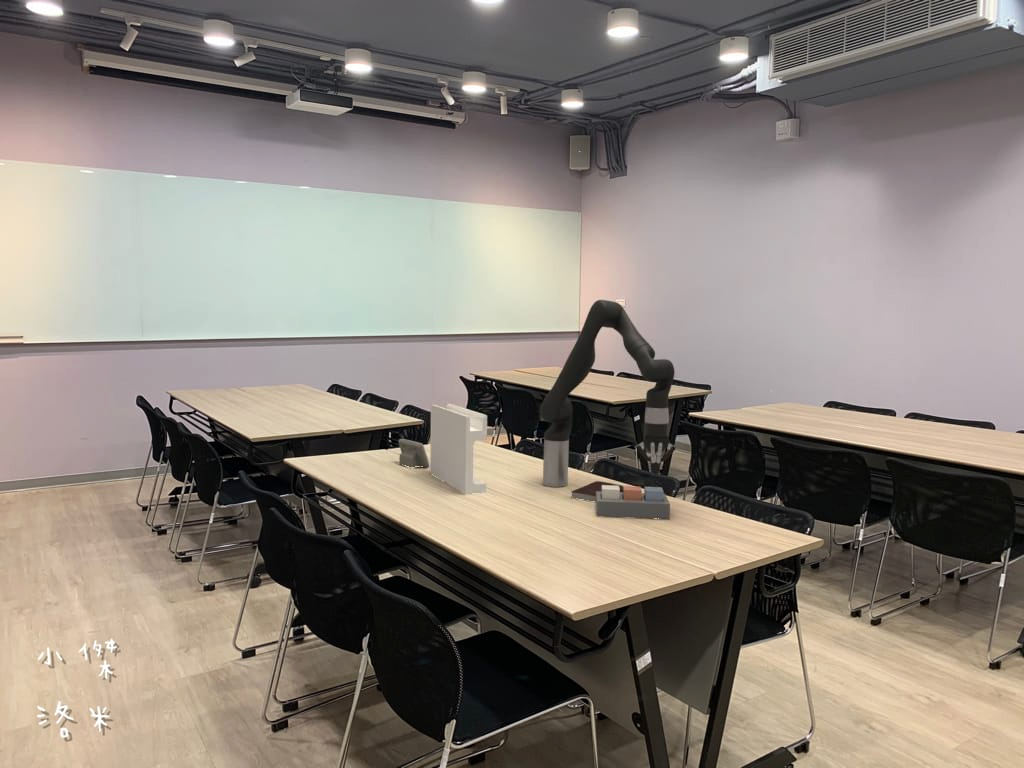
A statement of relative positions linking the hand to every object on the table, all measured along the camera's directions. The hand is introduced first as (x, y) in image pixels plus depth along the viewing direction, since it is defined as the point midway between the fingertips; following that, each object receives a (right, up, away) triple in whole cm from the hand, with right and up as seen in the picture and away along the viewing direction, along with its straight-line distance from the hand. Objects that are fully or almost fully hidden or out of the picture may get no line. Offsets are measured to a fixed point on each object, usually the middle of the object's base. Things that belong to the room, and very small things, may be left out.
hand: (654, 473), depth 238 cm
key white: (-14, -9, +2) cm, 17 cm away
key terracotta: (-7, -9, +2) cm, 12 cm away
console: (-7, -13, +2) cm, 15 cm away
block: (-67, -8, +38) cm, 78 cm away
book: (-15, -11, +24) cm, 31 cm away
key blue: (0, -9, +1) cm, 9 cm away
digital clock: (-87, -5, +68) cm, 111 cm away
